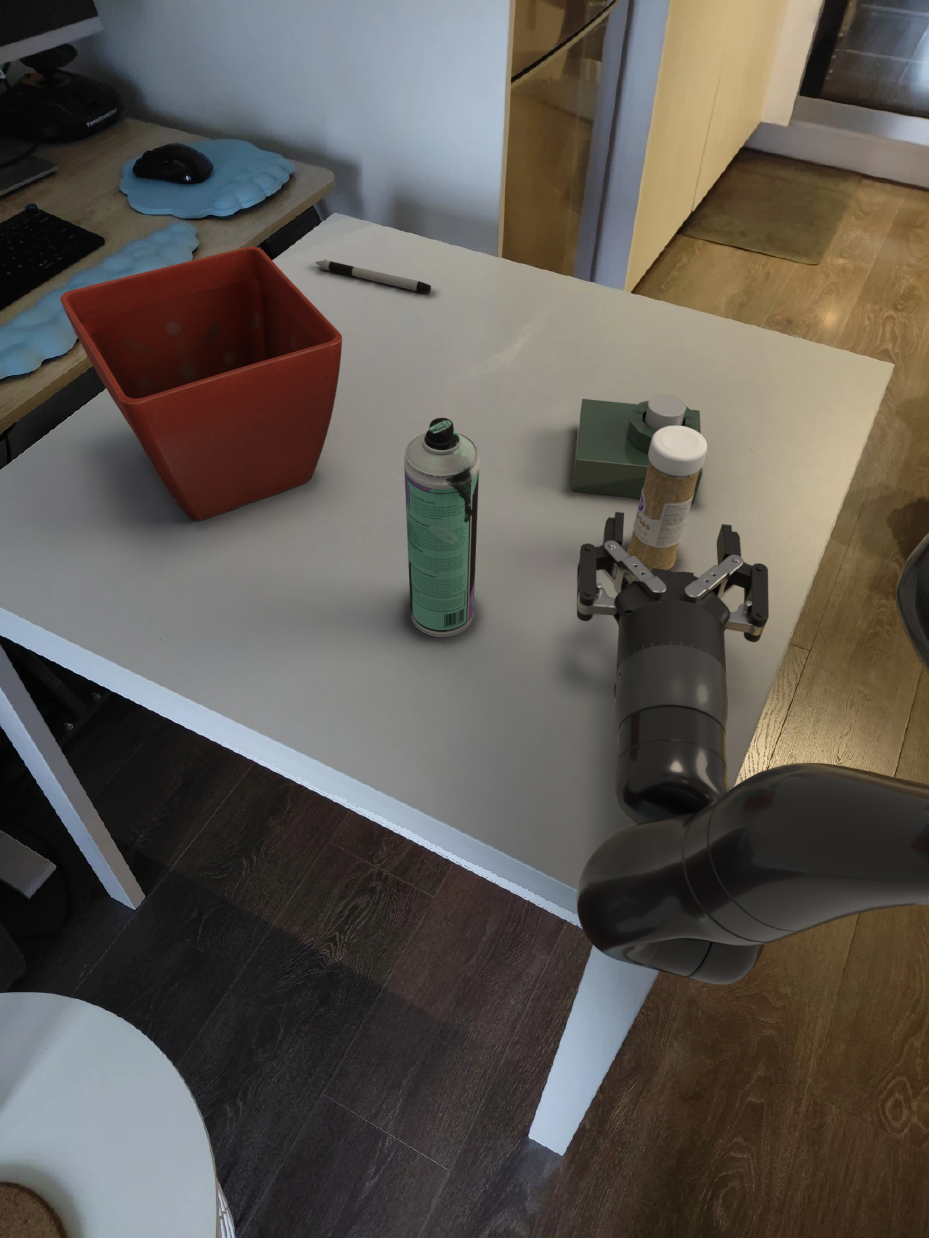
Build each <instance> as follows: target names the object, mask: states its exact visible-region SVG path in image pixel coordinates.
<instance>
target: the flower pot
mask: <svg viewBox="0 0 929 1238" xmlns="http://www.w3.org/2000/svg"><path fill="white" fill-rule="evenodd" d="M59 301H60V304H61V305H62V308H63V310H64V312H65V314H66V317H67V319H68V321H69V323H70V325H71V327H72V329H73V331H74V333H75V335H76V337H77V339H78V340H79V343H80V345H81V346H82V348H83V350H84V352H85V354H86V355H87V357H88V359H89V362H90V363H91V365H92V366H93V368H94V370H95V372H96V373H97V375H98V377H99V379H100V380H101V382H102V384H103V385H104V387H105V389H106V390H107V392H108V394H109V395H110V397H111V399H112V400H113V402H114V404H115V405H116V407H117V409H118V410H119V412H120V413H121V415H122V416H123V418H124V420H125V421H126V422H127V424H128V426H129V428H130V429H131V430H132V432H133V434H134V435H135V438H136V439H137V441H138V443H139V445H140V446H141V448H142V449H143V451H144V454H145V455H146V457H147V459H148V461H149V462H150V464H151V467H153V469H154V471H155V473H156V474H157V476H158V478H159V479H160V482H162V484H163V486H164V487H165V489H166V490H167V492H168V493H169V495H170V496H171V498H172V500H174V502H175V503H176V505H177V506H178V508H179V509H180V510H181V511H182V512H183V513H184V514H185V516H186V517H187V518H189V520H192V521H194V522H196V521H197V522H198V521H199V522H200V521H202V520H203V521H204V520H206V519H209V518H212V517H215V516H217V515H220V514H223V513H226V512H230V511H232V510H234V509H237V508H241V507H243V506H246V505H248V504H251V503H254V502H256V501H260V500H262V499H265V498H269V497H271V496H274V495H277V494H279V493H283V492H285V491H288V490H291V489H293V488H296V487H298V486H302V485H304V484H307V483H309V482H310V481H311V480H312V478H313V476H314V474H315V471H316V470H317V469H316V468H317V466H318V463H319V460H320V458H321V455H322V452H323V448H324V445H325V442H326V439H327V435H328V432H329V428H330V424H331V420H332V417H333V416H332V415H333V410H334V407H335V402H336V395H337V391H338V389H337V388H338V385H339V384H338V383H339V376H340V369H341V360H342V348H343V335H342V333H341V332H340V331H339V330H338V329H337V328H336V327H335V325H334V324H333V323H331V322H330V321H329V320H328V319H327V317H326V316H324V315H323V313H322V312H321V311H320V310H319V309H318V308H317V306H315V305H314V303H312V301H311V300H309V298H308V297H307V296H306V295H305V294H304V293H303V292H302V290H300V289H299V288H298V287H297V285H295V284H294V283H293V282H292V281H291V279H289V277H288V276H287V275H286V274H285V273H284V272H283V270H281V268H280V267H279V266H278V265H277V264H276V263H275V262H274V261H273V260H272V259H271V257H269V255H268V254H267V253H265V251H264V250H263V249H262V248H260V247H257V246H245V247H241V248H237V249H233V250H229V251H225V252H220V253H216V254H212V255H208V256H205V257H200V258H196V259H192V260H189V261H184V262H181V263H180V262H179V263H177V264H172V265H168V266H165V267H160V268H155V269H152V270H148V271H144V272H139V273H135V274H132V275H127V276H124V277H119V278H115V279H111V280H108V281H102V282H98V283H94V284H91V285H87V286H83V287H79V288H74V289H71V290H68V291H66V292H64V293H63V294H62V295H61V296H60V298H59Z"/></svg>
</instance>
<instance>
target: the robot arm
mask: <svg viewBox="0 0 929 1238" xmlns="http://www.w3.org/2000/svg"><path fill="white" fill-rule="evenodd" d="M624 524H625V512H622V511H621V512H620V511H615V512H614V517H610V516H609V517H607V519H606V520H605V524H604V529H603V536H602V537H603V538H602V544H601V545H598V546H595V545H594V544H593V543H586V542H585V543H583V544H582V545H581V546H580V550H579V559H578V564H577V569H576V617H577V618H578V620H580V621H582V622H589V621H591V620H592V619H593V616H594V615H602V616H613V619H615V621H616V623H617V626H618V632H617V634H618V635H617V653H616V654H617V656H616V672H615V673H616V674H615V676H616V678H615V683H614V686H613V687H614V688H613V694H614V696H613V697H614V710H615V711H614V712H615V719H616V730H617V733H616V734H617V736H616V737H617V739H616V761H615V776H614V777H615V782H614V789H615V797H616V798H615V799H616V802H617V803H618V807H619V809H620V810H621V811H622V812H623V814H624V815H625V816H626V817H628V819H630V820H631V821H633V822H634V823H636V824H635V825H630V826H627V827H625V828H623V829H621V830H619V831H616V832H615V833H614V834H612V835H610V836H609V837H608V838H606V839H605V840H604V841H603V842H602V843H601V844H600V845H599V846H598V847H597V848H596V849H595V851H594V852H593V853H592V854H591V855H590V857H589V859H588V860H587V862H586V864H585V865H584V867H583V870H582V871H581V875H580V878H579V880H578V885H577V890H576V912H577V916H578V920H579V923H580V924H579V925H581V929H582V931H583V932H584V935H585V936H586V938H587V939H588V941H589V942H590V943H591V944H592V946H593V947H594V948H595V949H597V950H598V951H599V952H600V953H602V954H603V955H605V956H607V957H609V958H611V959H614V960H617V961H619V962H621V963H622V962H623V963H626V964H631V965H634V966H639V967H642V968H646V969H650V970H655V971H658V972H662V973H666V974H671V975H674V976H679V977H683V978H685V979H689V980H693V981H696V982H699V983H700V982H702V983H706V984H709V985H718V986H726V985H730V984H731V985H732V984H735V983H737V982H739V981H741V980H742V979H744V978H745V977H747V976H748V974H749V973H750V972H751V971H752V970H753V969H754V968H755V967H756V965H757V964H758V961H759V959H760V958H761V956H762V955H763V951H764V948H765V945H767V944H768V945H769V944H771V943H775V942H778V941H780V940H783V939H786V938H789V937H793V936H795V935H798V934H801V933H804V932H806V931H809V930H813V929H815V928H817V927H821V926H822V925H826V924H828V923H830V922H831V923H832V922H833V921H834V922H835V921H837V920H841V919H844V918H847V917H851V916H855V915H859V914H863V913H869V912H874V911H880V910H886V909H893V908H903V907H912V906H921V905H922V906H923V905H929V784H928V783H925V782H918V781H914V780H909V779H904V778H899V777H895V776H891V775H887V774H883V773H880V772H874V771H871V770H867V769H866V770H865V769H862V768H861V769H860V768H856V767H851V766H846V765H840V764H833V763H823V762H795V763H788V764H786V763H785V764H781V765H777V766H774V767H771V768H767V769H765V770H761V771H759V772H757V773H754V774H753V775H751V776H750V777H747V778H746V779H744V780H742V781H740V782H739V783H737V784H736V785H734V786H733V787H731V788H730V787H729V778H728V777H729V776H728V775H729V774H728V752H727V723H728V716H729V696H728V694H729V693H728V676H727V659H726V641H725V640H726V639H725V631H726V630H728V631H735V632H741V633H743V638H744V639H745V640H746V641H748V642H751V643H757V642H759V641H760V640H761V636H762V634H763V632H764V630H765V627H766V624H767V622H768V620H769V616H770V614H769V612H770V611H769V610H770V609H769V603H770V602H769V568H768V567H767V565H765V564H763V563H760V562H759V563H757V562H756V563H754V564H752V565H751V564H749V563H747V562H745V561H744V558H743V557H742V547H741V537H740V535H739V533H738V532H737V531H733V528H732V527H733V526H732V524H726V523H722V524H721V526H720V529H719V533H718V536H717V538H716V558H717V559H716V560H717V565H716V564H714V565H713V566H712V567H710V568H709V569H708V570H707V571H705V572H704V573H703V574H702V575H700V576H699V577H698V576H696V575H695V574H694V573H695V572H691V571H690V572H689V571H670V570H664V569H657V568H652V571H649V570H648V569H647V568H646V567H645V566H644V565H643V563H642V562H641V561H640V560H639V559H638V558H637V557H636V556H634V555H633V556H630V555H629V554H628V553H627V550H625V549H624V547H623V542H624V526H625V525H624ZM597 571H602V572H603V574H604V575H605V576H606V577H607V578H608V580H610V582H612V584H613V588H614V592H616V594H617V595H616V596H615V597H614V598H613V597H610V596H609V595H608V594H607V591H606V589H605V588H604V587H603V584H602V583H601V582H598V581H597ZM735 586H737V587H739V588H742V589H743V603H740V604H739V605H738V607H737V610H736V611H732V612H731V611H730V609H729V607H728V606H727V605H726V603H724V601H723V600H722V598H723V597H724V596H725V595H726V594H727V593H728V592H729V591H730V590H732V589H733V588H734V587H735ZM895 606H896V611H897V614H898V617H899V620H900V624H901V625H902V628H903V631H904V634H905V635H906V637H907V639H908V641H909V643H910V645H911V647H912V649H913V651H914V653H915V655H916V657H917V658H918V660H919V662H920V663H921V665H922V666H923V668H924V669H925V671H926V673H927V674H928V675H929V532H927V534H926V535H925V536H924V537H923V538H922V539H921V541H920V542H919V543H918V544H917V545H916V546H915V548H914V549H913V550H912V551H911V553H910V554H909V556H908V557H907V558H906V560H905V562H904V565H903V567H902V569H901V572H900V574H899V577H898V578H897V583H896V588H895Z"/></svg>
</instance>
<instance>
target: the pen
mask: <svg viewBox="0 0 929 1238" xmlns="http://www.w3.org/2000/svg"><path fill="white" fill-rule="evenodd" d="M314 263H315V264H316V265H317V266H319V267H320V268H321V269H322V270H324V271H329V272H333V273H338V274H342V275H346V276H350V277H355V278H356V277H357V278H361V279H365V280H369V281H373V282H378V283H382V284H386V285H390V286H394V287H398V288H402V289H406V290H411V291H415V292H419V293H427V294H428V293H429V294H430V293H431V291H432V285H431V284H429V283H426V282H424V281H420V280H416V279H411V278H408V277H407V278H406V277H402V276H397V275H393V274H388V273H384V272H381V271H380V272H379V271H375V270H370V269H366V268H363V267H362V268H361V267H357V266H353V265H349V264H345V263H340V262H336V261H332V260H328V259H324V260H319V261H315V262H314Z"/></svg>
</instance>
